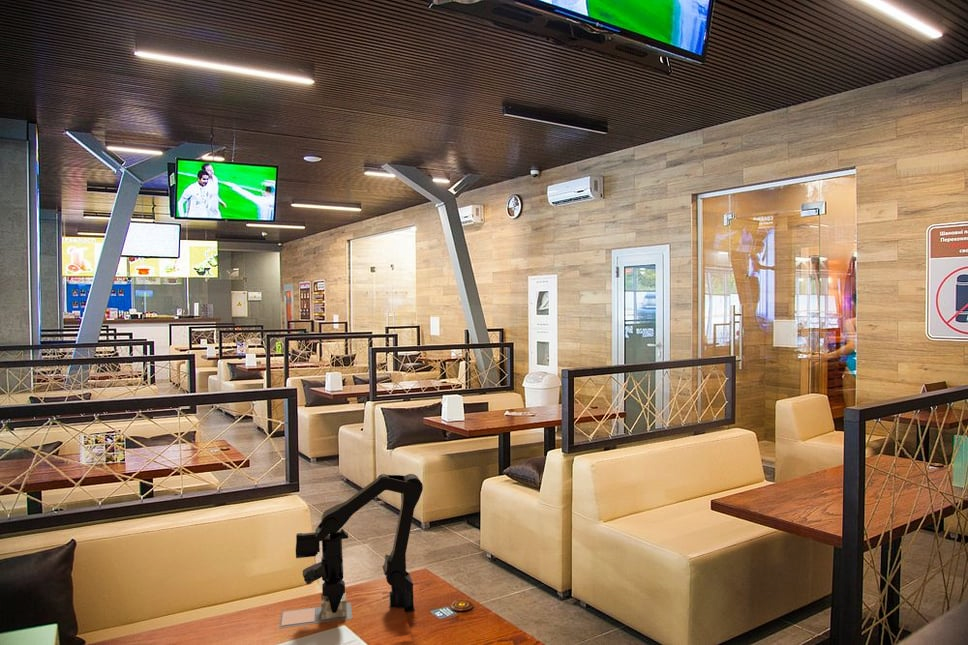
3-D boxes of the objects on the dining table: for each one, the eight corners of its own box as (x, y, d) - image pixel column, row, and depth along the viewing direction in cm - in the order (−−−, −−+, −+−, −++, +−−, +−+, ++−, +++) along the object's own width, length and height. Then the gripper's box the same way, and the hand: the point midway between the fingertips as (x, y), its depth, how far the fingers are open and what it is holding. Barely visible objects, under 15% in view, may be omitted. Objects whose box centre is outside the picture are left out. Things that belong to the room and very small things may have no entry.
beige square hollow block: (345, 606, 198) (345, 590, 198) (346, 616, 191) (346, 600, 191) (321, 609, 197) (321, 593, 197) (321, 619, 190) (321, 603, 190)
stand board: (350, 605, 201) (350, 586, 200) (352, 621, 190) (351, 601, 190) (281, 614, 196) (281, 595, 196) (279, 631, 185) (278, 610, 185)
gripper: (304, 546, 201) (306, 598, 201) (303, 568, 183) (304, 625, 183) (342, 542, 204) (343, 593, 204) (344, 564, 186) (346, 619, 186)
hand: (334, 607), depth 194 cm, fingers closed on beige square hollow block, 7 cm apart
